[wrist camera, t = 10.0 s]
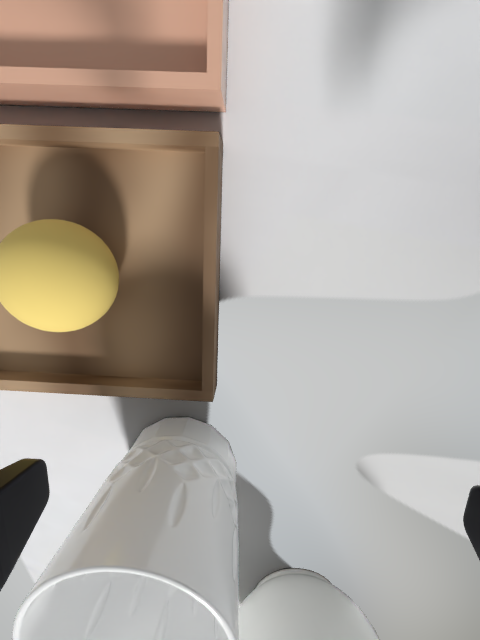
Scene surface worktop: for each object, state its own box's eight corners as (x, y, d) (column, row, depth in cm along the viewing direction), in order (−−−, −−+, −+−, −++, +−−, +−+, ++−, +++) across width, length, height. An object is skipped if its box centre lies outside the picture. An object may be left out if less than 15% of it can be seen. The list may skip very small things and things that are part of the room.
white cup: (97, 457, 21) (-34, 645, 11) (182, 382, 20) (114, 525, 10) (184, 532, 22) (132, 759, 13) (270, 467, 21) (287, 668, 11)
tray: (222, 143, 16) (219, 131, 14) (216, 385, 19) (212, 401, 18) (-54, 133, 17) (-94, 120, 15) (-15, 372, 20) (-44, 387, 18)
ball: (131, 223, 17) (86, 219, 12) (135, 318, 18) (96, 350, 13) (32, 219, 17) (-54, 213, 12) (43, 315, 18) (-31, 345, 13)
